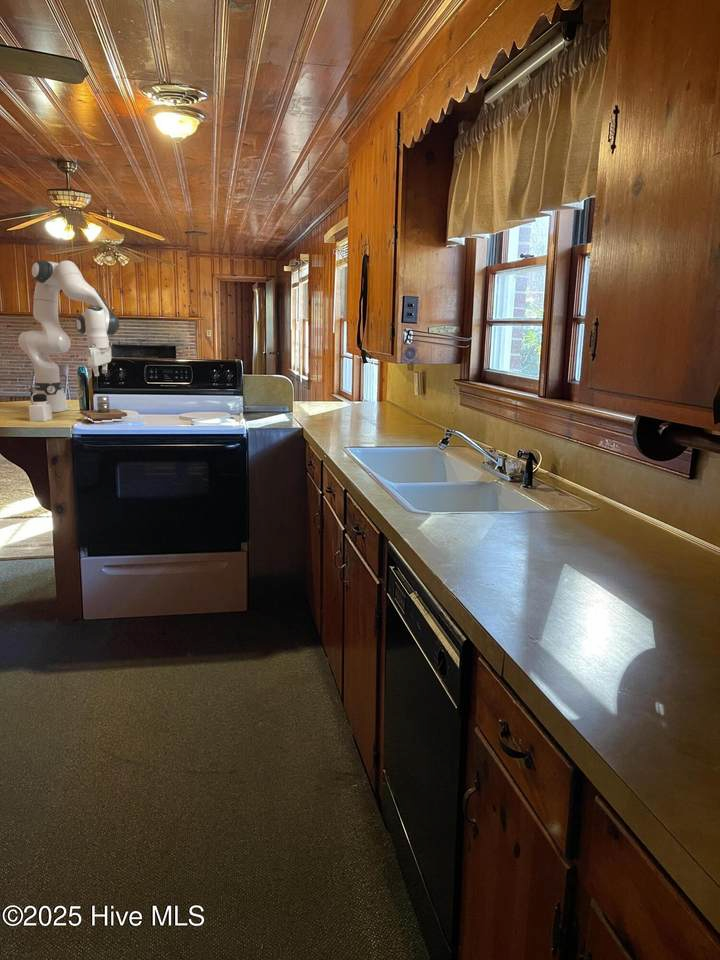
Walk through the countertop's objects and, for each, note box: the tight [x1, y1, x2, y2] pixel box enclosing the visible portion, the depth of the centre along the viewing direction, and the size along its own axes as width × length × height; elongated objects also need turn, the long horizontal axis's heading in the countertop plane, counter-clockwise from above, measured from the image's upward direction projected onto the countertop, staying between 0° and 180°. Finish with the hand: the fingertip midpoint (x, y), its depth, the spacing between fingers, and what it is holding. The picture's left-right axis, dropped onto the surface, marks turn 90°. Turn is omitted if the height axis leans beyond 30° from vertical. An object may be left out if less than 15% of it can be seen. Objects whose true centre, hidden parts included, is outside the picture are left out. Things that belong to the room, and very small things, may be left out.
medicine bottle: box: [28, 394, 53, 422], centre depth 319 cm, size 7×7×12 cm
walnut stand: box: [80, 408, 128, 421], centre depth 321 cm, size 16×16×4 cm
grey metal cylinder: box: [96, 395, 111, 413], centre depth 320 cm, size 5×5×7 cm
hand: (100, 374), depth 317 cm, fingers open, 8 cm apart
